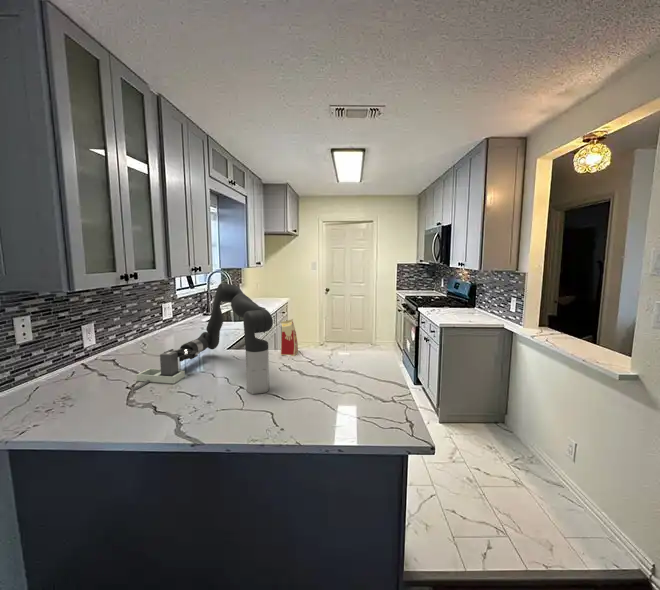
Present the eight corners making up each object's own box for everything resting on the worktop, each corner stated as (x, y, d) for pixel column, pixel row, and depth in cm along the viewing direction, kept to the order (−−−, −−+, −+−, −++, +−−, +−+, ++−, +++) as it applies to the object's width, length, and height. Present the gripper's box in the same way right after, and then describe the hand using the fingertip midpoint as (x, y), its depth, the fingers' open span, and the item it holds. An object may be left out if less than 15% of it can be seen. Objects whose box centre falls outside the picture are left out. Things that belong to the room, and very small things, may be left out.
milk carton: (298, 351, 196) (297, 317, 193) (294, 356, 187) (294, 320, 184) (282, 351, 197) (282, 317, 194) (278, 355, 188) (278, 320, 185)
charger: (171, 381, 147) (170, 354, 146) (161, 381, 148) (159, 354, 147) (178, 377, 152) (177, 351, 151) (168, 377, 153) (167, 351, 152)
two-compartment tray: (160, 392, 137) (159, 385, 137) (120, 389, 140) (120, 382, 140) (184, 377, 154) (184, 370, 153) (149, 375, 157) (148, 368, 156)
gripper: (178, 340, 168) (156, 349, 152) (204, 342, 165) (185, 351, 149) (178, 355, 169) (157, 366, 153) (205, 357, 166) (186, 367, 150)
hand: (171, 358), depth 151 cm, fingers open, 8 cm apart
